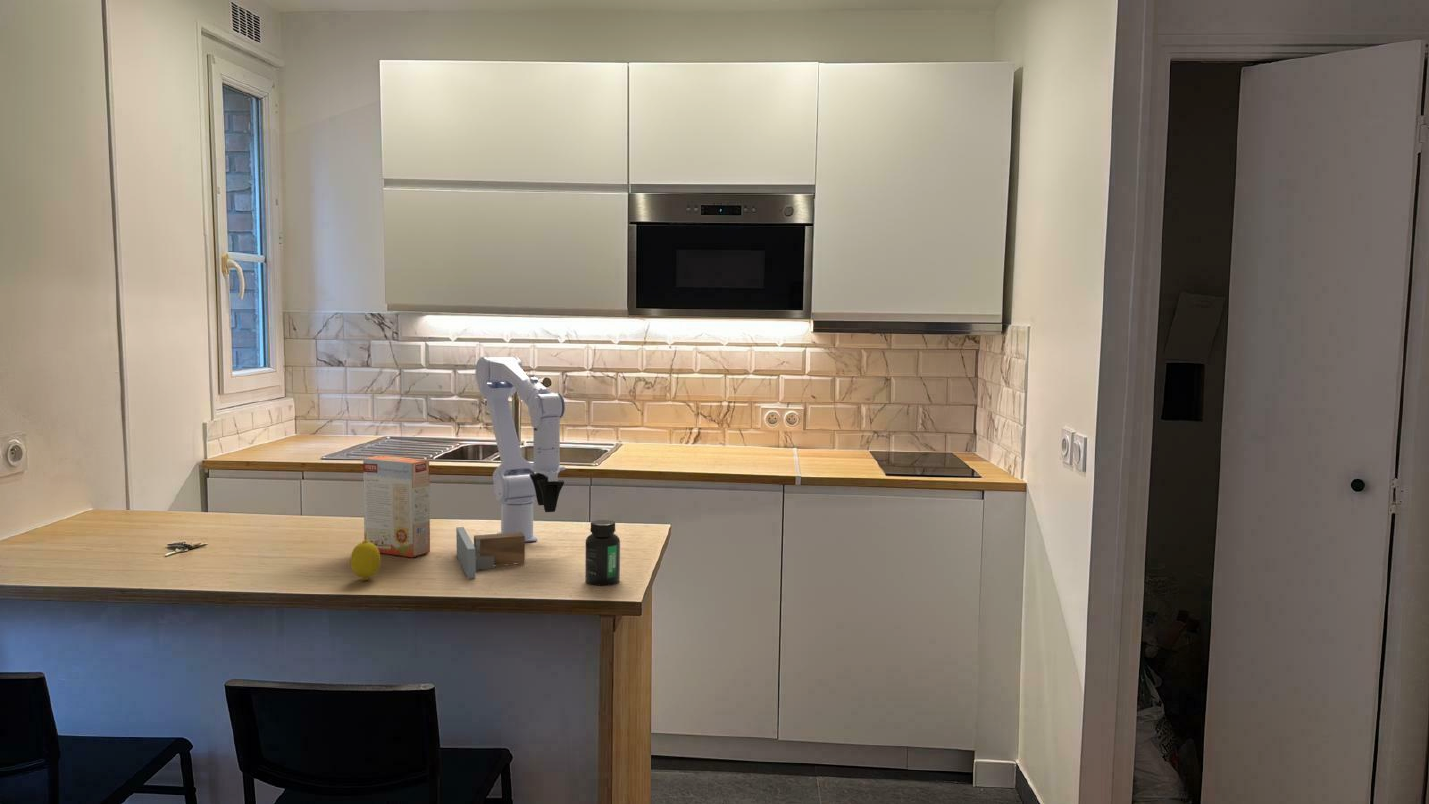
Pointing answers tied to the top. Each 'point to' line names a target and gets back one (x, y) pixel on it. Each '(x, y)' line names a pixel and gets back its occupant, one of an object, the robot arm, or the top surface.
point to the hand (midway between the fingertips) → (546, 508)
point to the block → (501, 547)
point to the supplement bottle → (602, 554)
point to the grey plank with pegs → (470, 555)
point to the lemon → (365, 560)
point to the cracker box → (397, 505)
